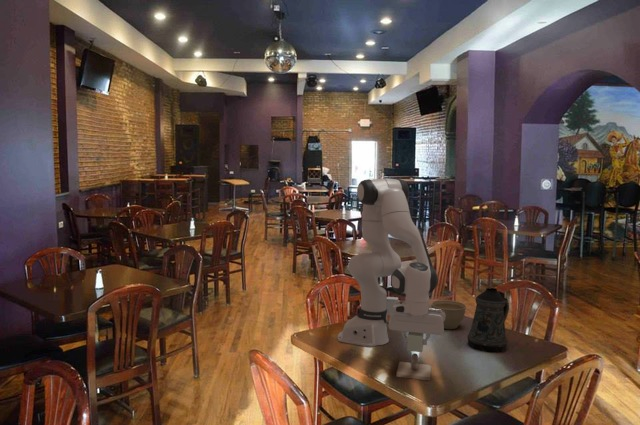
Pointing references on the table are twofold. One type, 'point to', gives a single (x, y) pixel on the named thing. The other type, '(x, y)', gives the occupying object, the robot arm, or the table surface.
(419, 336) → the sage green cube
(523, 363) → the table surface
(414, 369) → the post stand
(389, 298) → the skincare box
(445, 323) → the planter bowl
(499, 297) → the beer stein
